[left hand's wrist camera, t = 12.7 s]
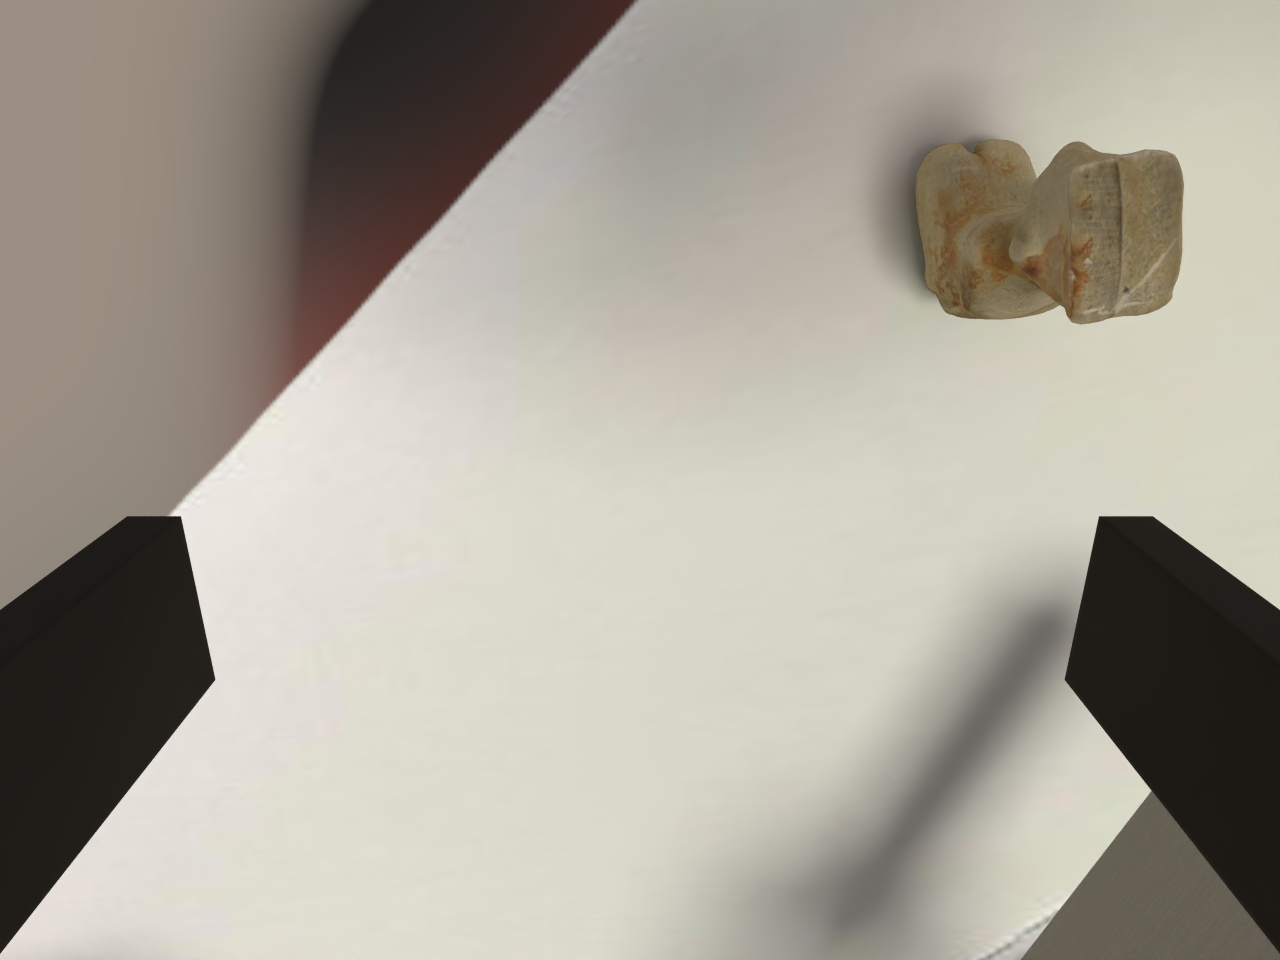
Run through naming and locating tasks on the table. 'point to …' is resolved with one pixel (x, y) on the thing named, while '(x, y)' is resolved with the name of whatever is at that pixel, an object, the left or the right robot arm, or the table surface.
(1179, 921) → the bar
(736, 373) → the table surface
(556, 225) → the table surface
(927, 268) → the sculpture
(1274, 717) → the left robot arm
